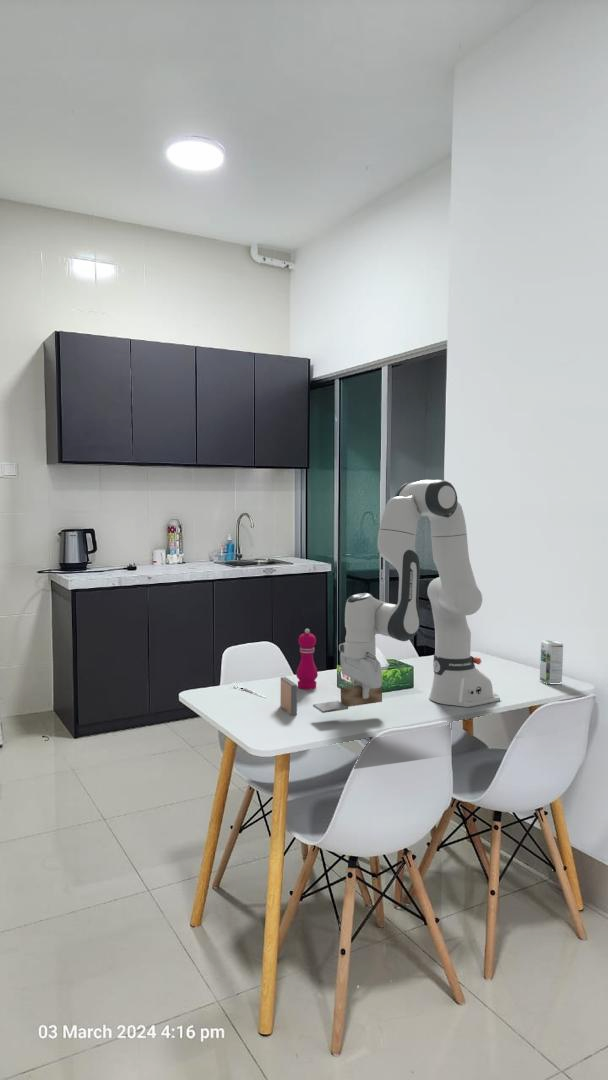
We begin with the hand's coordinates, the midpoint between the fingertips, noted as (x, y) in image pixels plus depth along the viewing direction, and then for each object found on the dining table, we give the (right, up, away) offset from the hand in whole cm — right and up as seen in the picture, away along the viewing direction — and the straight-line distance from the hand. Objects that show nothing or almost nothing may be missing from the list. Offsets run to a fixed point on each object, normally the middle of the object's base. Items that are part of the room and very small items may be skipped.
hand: (361, 695), depth 215 cm
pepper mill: (-16, -4, +33) cm, 37 cm away
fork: (-34, -5, +26) cm, 44 cm away
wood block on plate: (-4, -2, -1) cm, 5 cm away
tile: (-22, -6, +6) cm, 23 cm away
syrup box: (+69, -4, +41) cm, 80 cm away
